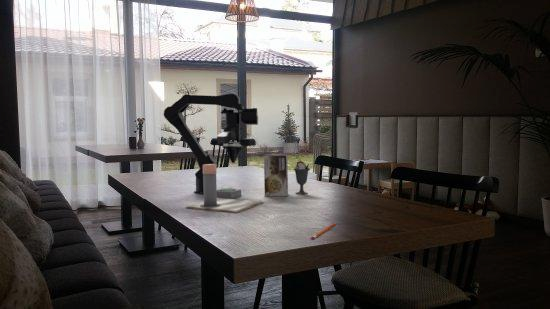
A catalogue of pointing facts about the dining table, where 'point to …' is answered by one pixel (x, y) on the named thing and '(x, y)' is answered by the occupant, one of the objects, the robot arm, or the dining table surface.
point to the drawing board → (227, 205)
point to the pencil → (323, 231)
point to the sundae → (301, 175)
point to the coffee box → (276, 175)
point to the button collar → (228, 194)
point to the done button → (227, 189)
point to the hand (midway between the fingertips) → (233, 163)
